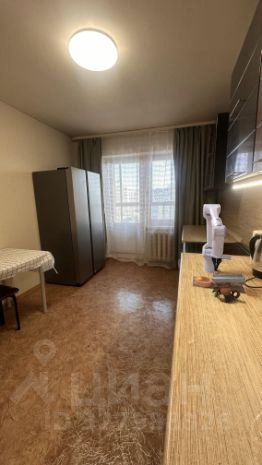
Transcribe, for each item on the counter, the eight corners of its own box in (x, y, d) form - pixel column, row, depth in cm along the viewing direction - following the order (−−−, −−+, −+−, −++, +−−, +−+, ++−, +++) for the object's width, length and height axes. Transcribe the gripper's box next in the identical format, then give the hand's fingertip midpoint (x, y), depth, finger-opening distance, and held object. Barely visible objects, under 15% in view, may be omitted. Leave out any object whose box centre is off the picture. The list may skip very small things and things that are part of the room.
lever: (212, 276, 118) (212, 269, 117) (241, 275, 113) (240, 268, 112) (213, 285, 106) (213, 278, 105) (246, 285, 101) (245, 277, 100)
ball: (199, 282, 113) (195, 278, 113) (203, 279, 112) (200, 275, 112) (199, 284, 110) (195, 280, 110) (203, 281, 109) (200, 277, 109)
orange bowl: (195, 279, 116) (195, 275, 116) (211, 281, 113) (211, 277, 113) (194, 285, 108) (195, 281, 108) (211, 288, 105) (212, 283, 105)
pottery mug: (214, 305, 92) (210, 286, 95) (215, 304, 100) (211, 287, 103) (243, 303, 88) (238, 284, 91) (241, 302, 96) (237, 285, 99)
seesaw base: (193, 277, 121) (194, 270, 120) (241, 283, 112) (241, 276, 112) (192, 287, 108) (192, 280, 107) (245, 295, 100) (246, 287, 99)
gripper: (203, 248, 110) (202, 271, 113) (232, 250, 105) (230, 274, 108) (203, 245, 117) (202, 267, 119) (231, 247, 112) (229, 270, 114)
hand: (215, 270), depth 114 cm, fingers closed
